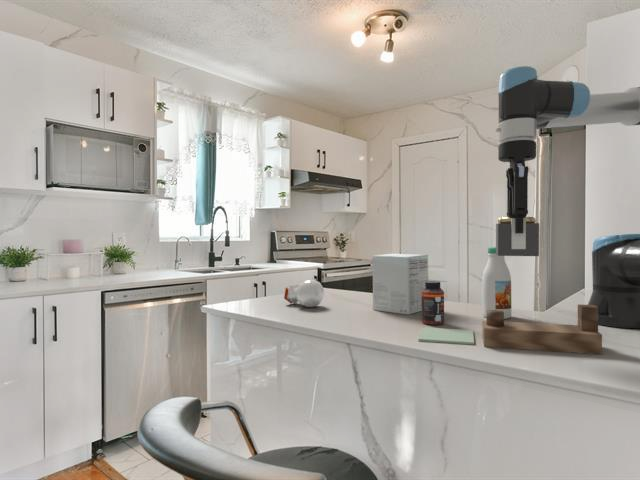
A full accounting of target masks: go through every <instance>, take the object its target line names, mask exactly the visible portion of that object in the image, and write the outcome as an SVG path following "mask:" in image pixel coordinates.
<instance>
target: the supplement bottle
mask: <svg viewBox="0 0 640 480" xmlns="http://www.w3.org/2000/svg"><path fill="white" fill-rule="evenodd" d="M425 287H426V288H425V289H423V290H422V311H421V322H422V323H423V324H425V325H429V326H430V325H431V326H437V325H439V326H440V325H443V324H444V323H445V291H444V290H443V289H442V288H441V281H439V280H438V281H437V280H428V281H426V282H425Z"/></svg>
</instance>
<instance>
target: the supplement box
mask: <svg viewBox="0 0 640 480" xmlns="http://www.w3.org/2000/svg"><path fill="white" fill-rule="evenodd" d="M371 257H372V263H371V264H372V310H373V311H377V312H385V313H394V314H399V315H400V314H402V315H412V314H414V313H418V312H419V313H420V312H422V290H423V289H425V288H426V287H425V282H426V281H429V254H416V253H415V254H413V253H412V254H409V253H386V254H375V255H372V256H371Z"/></svg>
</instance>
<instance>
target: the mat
mask: <svg viewBox="0 0 640 480" xmlns="http://www.w3.org/2000/svg"><path fill="white" fill-rule="evenodd" d="M417 340H418V342H428V343H429V342H430V343H443V344H454V345H455V344H457V345H458V344H459V345H471V346H472V345H473V346H474V345H475V337H474V330H473V329H462V328H461V329H457V328H443V327H442V328H440V327H426V326H425V327H422V329H421V332H420V334H419V337H418V339H417Z"/></svg>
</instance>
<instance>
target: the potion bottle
mask: <svg viewBox="0 0 640 480" xmlns="http://www.w3.org/2000/svg"><path fill="white" fill-rule="evenodd" d="M284 290H285V291H284V296H283V297H284V300H286V301H287V302H288V303H290V304H291V303H292V304H294V305H295V304H296V305H297V303H298V302H299V304H300V305H301V306H304V307H306V308H307V307H311V308H314V307H317V306H319V305H321V304H322V302H323V300H324V297H325V290H324V287H323V285H322V283H321V282H320V281H317V280H315V279H313V278H312V279H305V280H304V281H302V282H300V283H299V284H295V285H288V286H285V288H284Z"/></svg>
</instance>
